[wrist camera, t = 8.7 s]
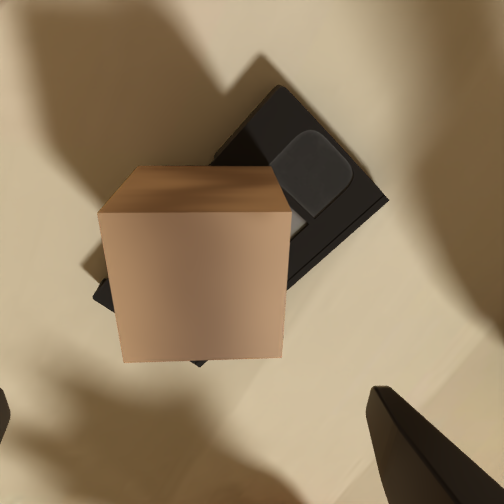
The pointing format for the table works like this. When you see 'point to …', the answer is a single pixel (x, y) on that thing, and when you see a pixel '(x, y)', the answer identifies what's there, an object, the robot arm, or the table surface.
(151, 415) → the table surface
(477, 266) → the table surface
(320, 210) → the vhs tape
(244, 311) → the walnut cube
